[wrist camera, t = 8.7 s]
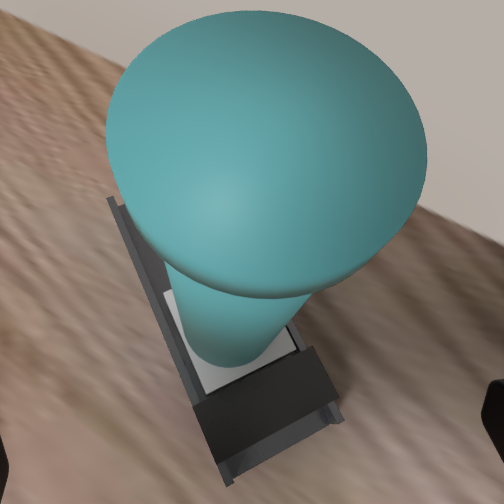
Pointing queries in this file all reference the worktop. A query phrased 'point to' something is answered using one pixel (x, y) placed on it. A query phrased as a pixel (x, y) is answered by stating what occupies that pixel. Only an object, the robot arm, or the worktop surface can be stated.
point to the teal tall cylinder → (260, 174)
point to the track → (240, 381)
